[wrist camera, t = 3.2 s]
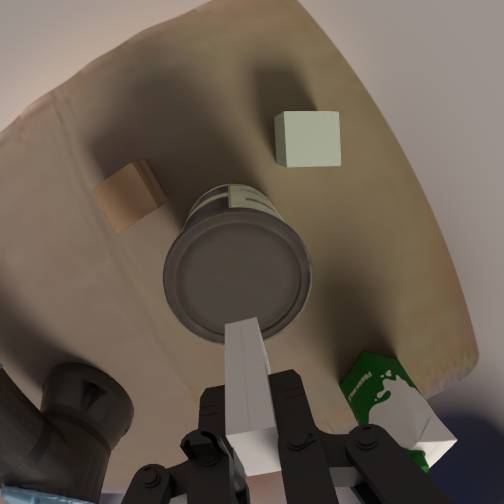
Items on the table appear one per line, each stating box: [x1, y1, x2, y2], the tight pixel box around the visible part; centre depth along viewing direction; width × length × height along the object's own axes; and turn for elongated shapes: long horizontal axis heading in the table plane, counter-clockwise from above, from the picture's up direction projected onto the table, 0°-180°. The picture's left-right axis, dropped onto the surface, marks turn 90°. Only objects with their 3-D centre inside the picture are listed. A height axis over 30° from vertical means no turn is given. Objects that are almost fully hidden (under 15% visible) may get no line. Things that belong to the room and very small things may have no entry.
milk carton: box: [339, 351, 457, 473], centre depth 34 cm, size 9×9×20 cm
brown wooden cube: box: [91, 159, 168, 234], centre depth 30 cm, size 5×5×5 cm
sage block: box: [274, 111, 341, 167], centre depth 29 cm, size 5×5×6 cm
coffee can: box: [163, 184, 313, 345], centre depth 28 cm, size 10×10×14 cm
